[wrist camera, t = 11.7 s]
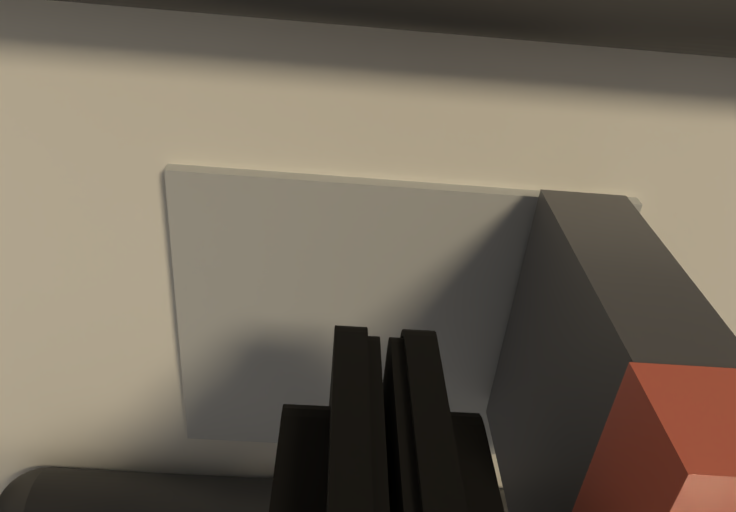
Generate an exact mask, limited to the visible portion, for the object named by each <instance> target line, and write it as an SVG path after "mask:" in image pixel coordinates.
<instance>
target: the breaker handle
mask: <svg viewBox="0 0 736 512" xmlns="http://www.w3.org/2000/svg"><path fill="white" fill-rule="evenodd" d="M486 414H487V419H488V423H489V427H490V432H491V436H492V441H493V445H494V450H495V454H496V459H497V463H498V468H499V472H500V476H501V481H502V485H503V490H504V494H505V499H506V503H507V508H508V512H736V336H735V335H734V333H733V332H732V331H731V330H730V328H729V327H728V326H727V325H726V323H725V322H724V321H723V319H722V318H721V317H720V316H719V314H718V313H717V312H716V310H715V309H714V308H713V307H712V305H711V304H710V303H709V301H708V300H707V299H706V298H705V296H704V295H703V294H702V292H701V291H700V290H699V289H698V287H697V286H696V285H695V283H694V282H693V281H692V280H691V278H690V277H689V276H688V274H687V273H686V272H685V271H684V269H683V268H682V267H681V265H680V264H679V263H678V262H677V260H676V259H675V258H674V256H673V255H672V254H671V253H670V251H669V250H668V249H667V247H666V246H665V245H664V244H663V242H662V241H661V240H660V238H659V237H658V236H657V235H656V233H655V232H654V231H653V229H652V228H651V227H650V226H649V224H648V223H647V222H646V220H645V219H644V218H643V217H642V215H641V214H640V213H639V211H638V210H637V209H636V208H635V206H634V205H633V204H632V203H631V201H630V200H629V199H628V197H627V196H625V195H611V194H597V193H584V192H570V191H556V190H542V189H540V194H539V198H538V202H537V206H536V210H535V214H534V218H533V222H532V226H531V230H530V234H529V238H528V242H527V246H526V251H525V255H524V259H523V263H522V267H521V271H520V275H519V279H518V283H517V287H516V291H515V295H514V299H513V303H512V308H511V312H510V316H509V320H508V324H507V328H506V332H505V336H504V340H503V344H502V348H501V352H500V356H499V360H498V365H497V369H496V373H495V377H494V381H493V385H492V389H491V393H490V397H489V401H488V405H487V409H486Z"/></svg>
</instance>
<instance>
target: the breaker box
mask: <svg viewBox="0 0 736 512" xmlns="http://www.w3.org/2000/svg"><path fill="white" fill-rule="evenodd" d="M540 189H542V190H556V191H570V192H584V193H597V194H611V195H625V196H627V197H628V199H629V200H630V201H631V203H632V204H633V205H634V206H635V208H636V209H637V210H638V211H639V213H640V214H641V215H642V217H643V218H644V219H645V220H646V222H647V223H648V224H649V226H650V227H651V228H652V229H653V231H654V232H655V233H656V235H657V236H658V237H659V238H660V240H661V241H662V242H663V244H664V245H665V246H666V247H667V249H668V250H669V251H670V253H671V254H672V255H673V256H674V258H675V259H676V260H677V262H678V263H679V264H680V265H681V267H682V268H683V269H684V271H685V272H686V273H687V274H688V276H689V277H690V278H691V280H692V281H693V282H694V283H695V285H696V286H697V287H698V289H699V290H700V291H701V292H702V294H703V295H704V296H705V298H706V299H707V300H708V301H709V303H710V304H711V305H712V307H713V308H714V309H715V310H716V312H717V313H718V314H719V316H720V317H721V318H722V319H723V321H724V322H725V323H726V325H727V326H728V327H729V328H730V330H731V331H732V332H733V333H734V335H735V336H736V0H0V512H269V506H270V498H271V491H272V483H273V475H274V467H275V460H276V452H277V444H278V436H279V428H280V421H281V413H282V407H283V404H295V405H317V406H329V398H330V384H331V370H332V356H333V342H334V328H335V325H339V326H357V327H367V328H368V336H380V343H381V361H382V379H383V377H384V369H385V361H386V354H387V346H388V339H389V337H397V338H400V335H401V331H402V329H412V330H430V331H435V332H436V334H437V339H438V344H439V350H440V356H441V362H442V367H443V373H444V379H445V384H446V390H447V396H448V402H449V407H450V412H465V413H479V414H480V415H481V416H482V419H483V422H484V425H485V429H486V434H487V438H488V442H489V447H490V451H491V455H492V460H493V464H494V468H495V473H496V477H497V481H498V486H499V490H500V494H501V499H502V503H503V507H504V512H508V508H507V503H506V499H505V494H504V490H503V485H502V481H501V476H500V472H499V468H498V463H497V459H496V454H495V450H494V445H493V441H492V436H491V432H490V427H489V423H488V419H487V414H486V409H487V405H488V401H489V397H490V393H491V389H492V385H493V381H494V377H495V373H496V369H497V365H498V360H499V356H500V352H501V348H502V344H503V340H504V336H505V332H506V328H507V324H508V320H509V316H510V312H511V308H512V303H513V299H514V295H515V291H516V287H517V283H518V279H519V275H520V271H521V267H522V263H523V259H524V255H525V251H526V246H527V242H528V238H529V234H530V230H531V226H532V222H533V218H534V214H535V210H536V206H537V202H538V198H539V194H540Z"/></svg>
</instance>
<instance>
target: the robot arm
mask: <svg viewBox="0 0 736 512" xmlns="http://www.w3.org/2000/svg"><path fill="white" fill-rule="evenodd" d="M269 512H504V507H503V503H502V499H501V494H500V490H499V486H498V481H497V477H496V473H495V468H494V464H493V460H492V455H491V451H490V447H489V442H488V438H487V434H486V429H485V425H484V422H483V419H482V416H481V415H480V414H479V413H465V412H450V407H449V402H448V396H447V390H446V384H445V379H444V373H443V367H442V362H441V356H440V350H439V344H438V339H437V334H436V332H435V331H430V330H412V329H402V331H401V335H400V338H397V337H389V339H388V346H387V354H386V361H385V369H384V377H383V379H382V361H381V343H380V336H368V328H367V327H357V326H339V325H335V328H334V342H333V356H332V370H331V384H330V398H329V406H317V405H295V404H283V407H282V413H281V421H280V428H279V436H278V444H277V452H276V460H275V467H274V475H273V483H272V491H271V498H270V506H269Z"/></svg>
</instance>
